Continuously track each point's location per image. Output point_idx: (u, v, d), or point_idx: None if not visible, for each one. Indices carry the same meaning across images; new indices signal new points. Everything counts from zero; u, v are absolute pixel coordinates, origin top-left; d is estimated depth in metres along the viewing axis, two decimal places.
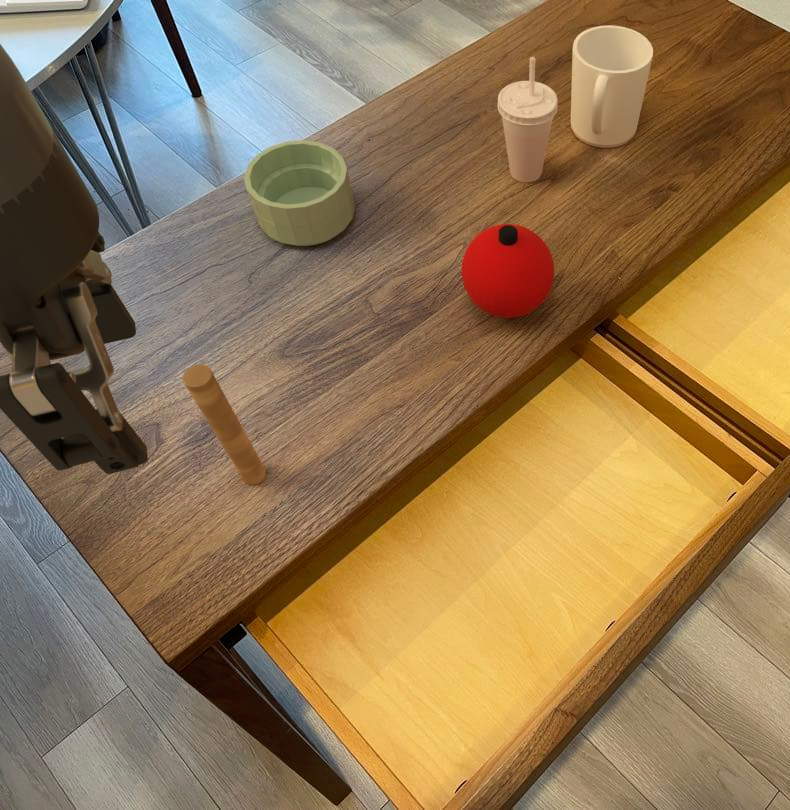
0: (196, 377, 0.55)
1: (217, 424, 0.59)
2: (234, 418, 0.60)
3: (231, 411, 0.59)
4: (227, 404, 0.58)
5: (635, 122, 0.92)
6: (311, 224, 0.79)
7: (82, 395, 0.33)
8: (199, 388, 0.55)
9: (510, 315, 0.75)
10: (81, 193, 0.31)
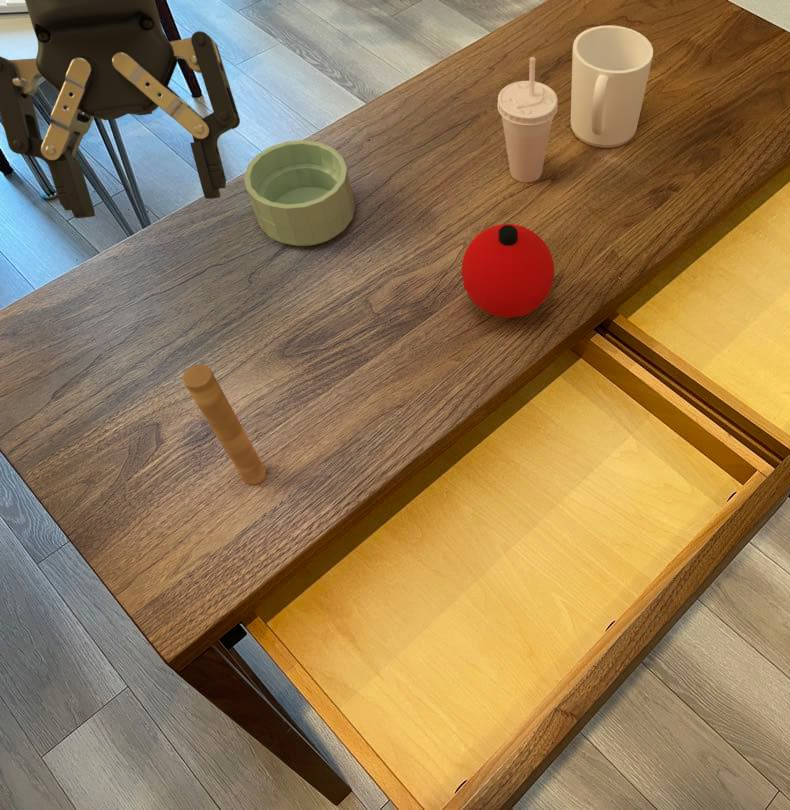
0: (196, 377, 0.55)
1: (217, 424, 0.59)
2: (234, 418, 0.60)
3: (231, 411, 0.59)
4: (227, 404, 0.58)
5: (635, 122, 0.92)
6: (311, 224, 0.79)
7: None
8: (199, 388, 0.55)
9: (510, 315, 0.75)
10: None
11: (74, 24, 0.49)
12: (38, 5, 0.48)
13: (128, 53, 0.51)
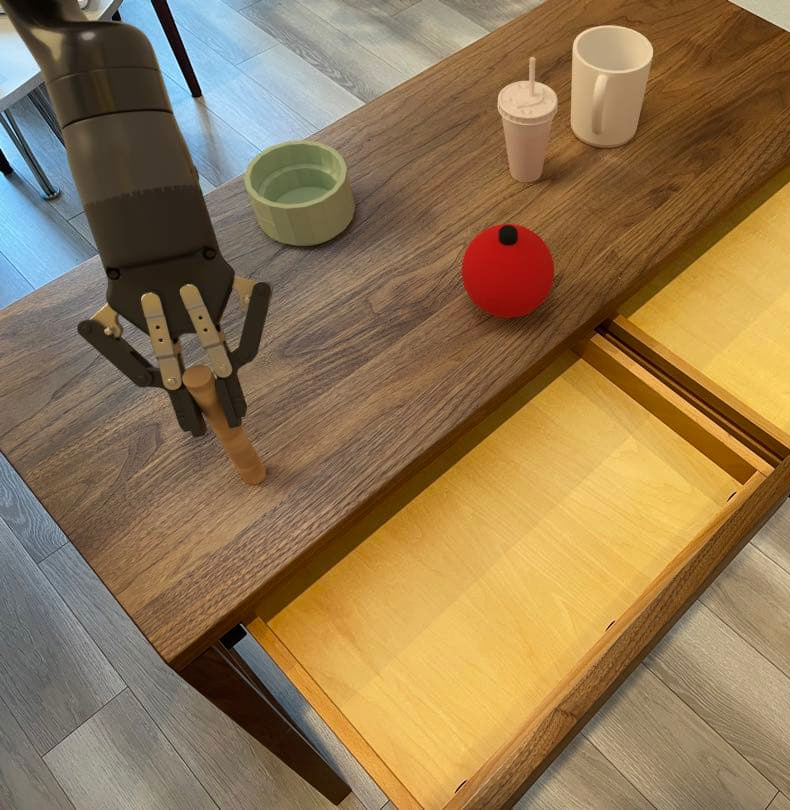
0: (196, 377, 0.55)
1: (217, 424, 0.59)
2: None
3: None
4: None
5: (635, 122, 0.92)
6: (311, 224, 0.79)
7: None
8: (199, 388, 0.55)
9: (510, 315, 0.75)
10: None
11: (144, 263, 0.53)
12: (113, 252, 0.51)
13: (198, 285, 0.54)
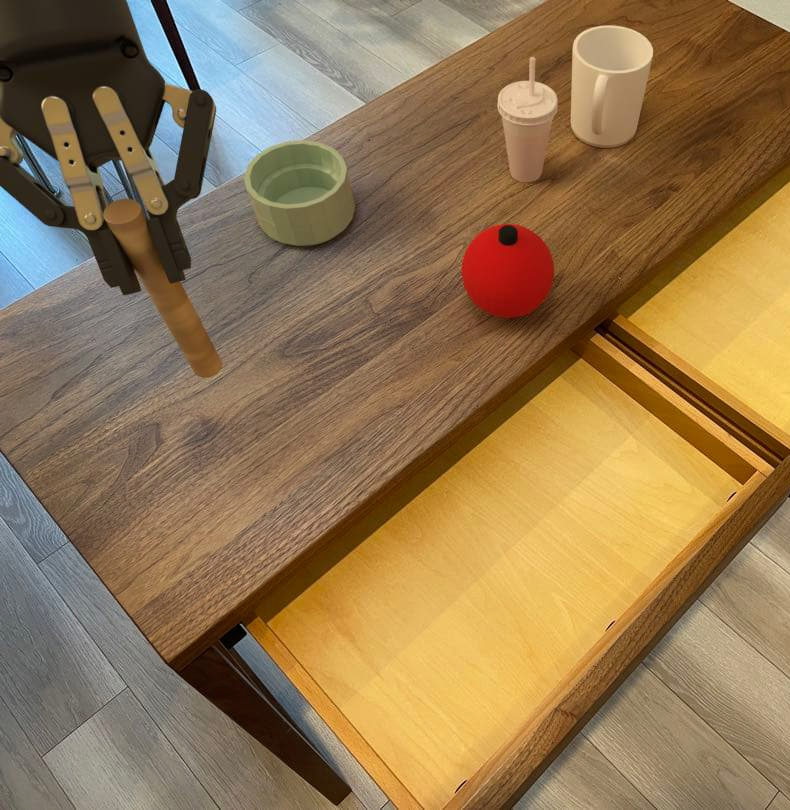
0: (121, 213, 0.43)
1: (154, 285, 0.47)
2: None
3: None
4: None
5: (635, 122, 0.92)
6: (311, 224, 0.79)
7: None
8: (125, 225, 0.43)
9: (510, 315, 0.75)
10: None
11: (42, 57, 0.41)
12: None
13: (118, 91, 0.42)
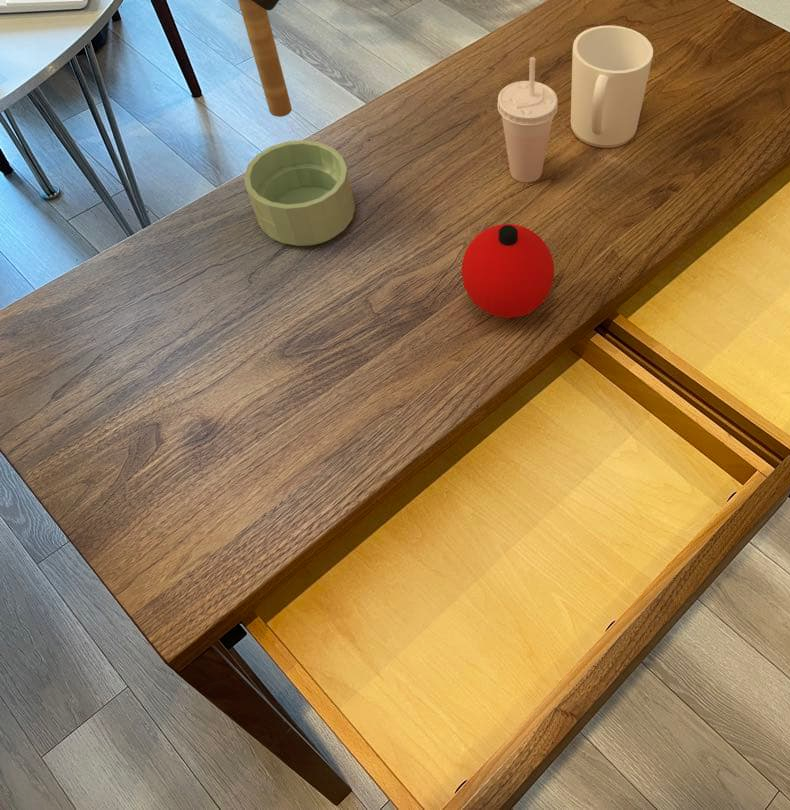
0: None
1: None
2: None
3: None
4: None
5: (635, 122, 0.92)
6: (311, 224, 0.79)
7: None
8: None
9: (510, 315, 0.75)
10: None
11: None
12: None
13: None
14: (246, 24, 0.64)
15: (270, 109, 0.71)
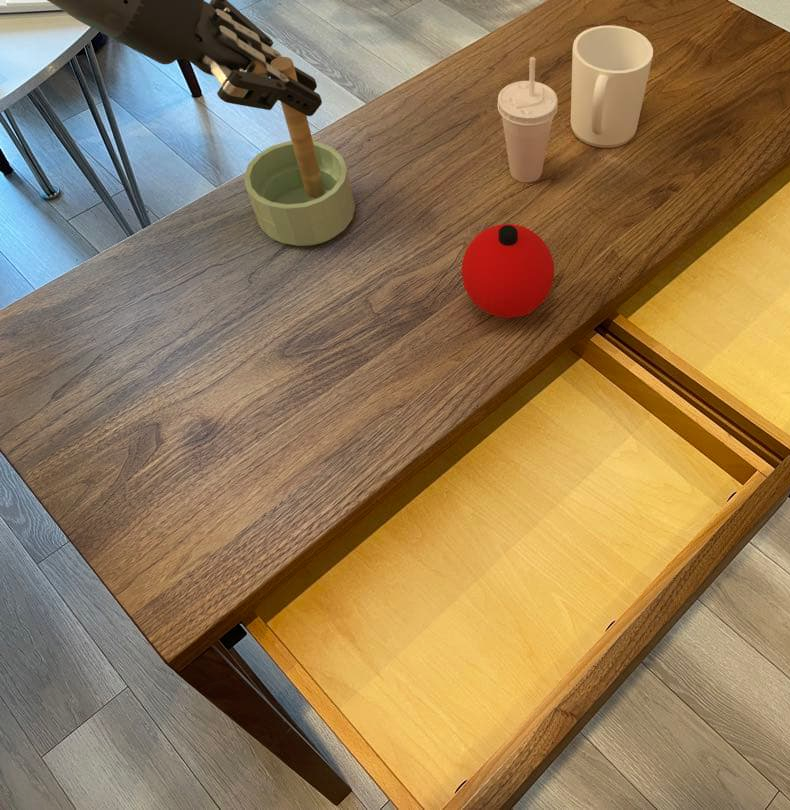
0: (283, 63, 0.70)
1: None
2: None
3: None
4: None
5: (635, 122, 0.92)
6: (311, 224, 0.79)
7: None
8: None
9: (510, 315, 0.75)
10: None
11: None
12: (192, 4, 0.61)
13: None
14: (289, 127, 0.75)
15: (307, 192, 0.82)
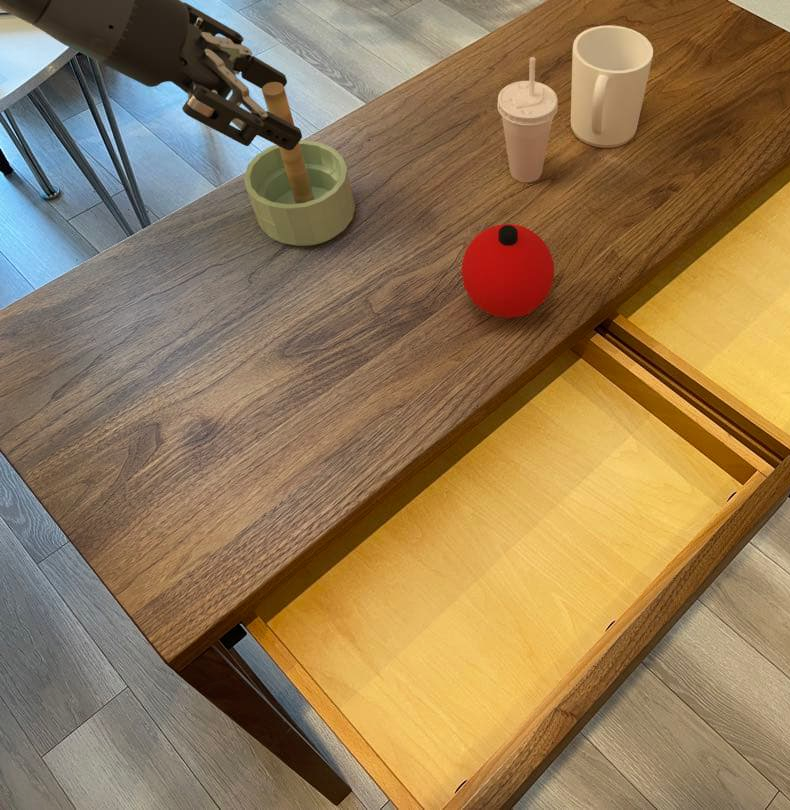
0: (274, 88, 0.72)
1: None
2: None
3: None
4: None
5: (635, 122, 0.92)
6: (311, 224, 0.79)
7: None
8: None
9: (510, 315, 0.75)
10: None
11: None
12: (177, 28, 0.62)
13: (196, 38, 0.67)
14: (281, 149, 0.76)
15: None
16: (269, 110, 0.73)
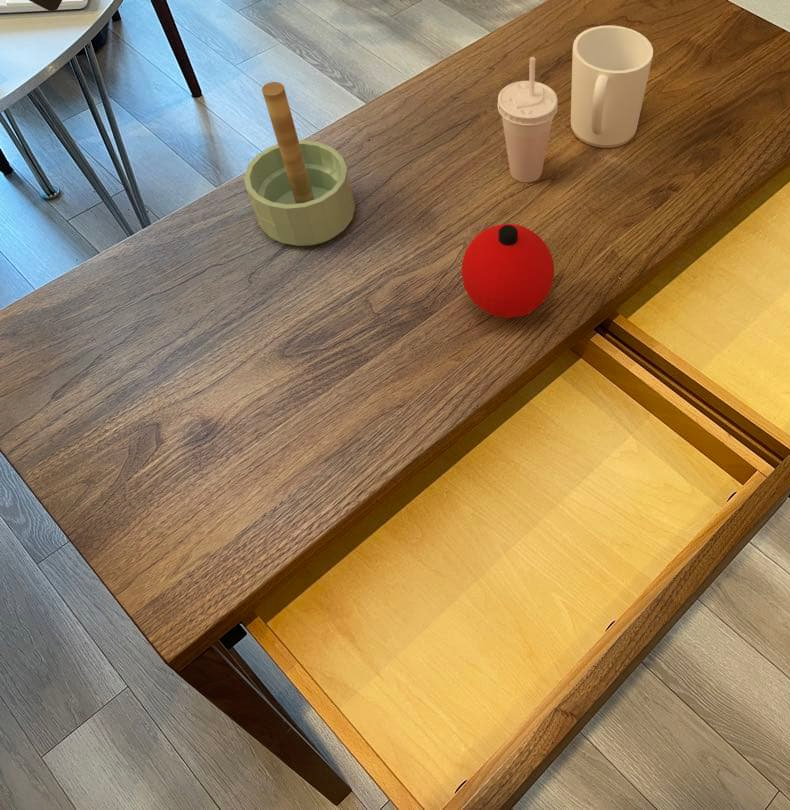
0: (274, 88, 0.72)
1: (296, 133, 0.76)
2: None
3: None
4: None
5: (635, 122, 0.92)
6: (311, 224, 0.79)
7: None
8: None
9: (510, 315, 0.75)
10: None
11: None
12: None
13: None
14: (281, 149, 0.76)
15: None
16: (269, 110, 0.73)
